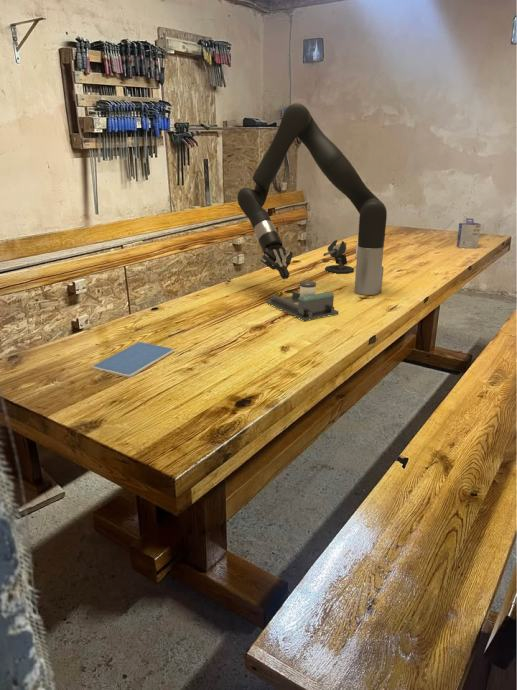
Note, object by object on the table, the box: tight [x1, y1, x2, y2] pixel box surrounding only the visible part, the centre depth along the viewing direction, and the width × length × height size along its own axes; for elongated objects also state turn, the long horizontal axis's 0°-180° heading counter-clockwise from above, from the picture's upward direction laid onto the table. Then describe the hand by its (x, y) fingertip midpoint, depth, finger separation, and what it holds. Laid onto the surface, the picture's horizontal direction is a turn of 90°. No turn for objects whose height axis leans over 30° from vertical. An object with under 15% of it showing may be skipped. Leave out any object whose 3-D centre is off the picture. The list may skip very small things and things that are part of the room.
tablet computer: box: [91, 341, 175, 379], centre depth 141 cm, size 19×13×1 cm, turn 153°
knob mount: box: [266, 290, 340, 321], centre depth 181 cm, size 14×22×7 cm, turn 32°
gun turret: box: [322, 239, 355, 275], centre depth 228 cm, size 13×20×13 cm, turn 146°
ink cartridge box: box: [456, 218, 482, 249], centre depth 279 cm, size 10×6×14 cm, turn 89°
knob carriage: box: [294, 280, 317, 305], centre depth 178 cm, size 7×6×8 cm
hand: (286, 277), depth 186 cm, fingers closed
